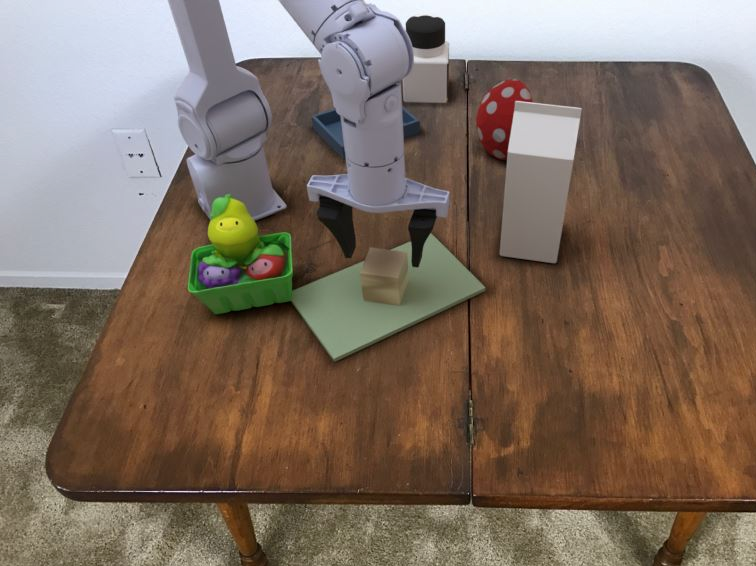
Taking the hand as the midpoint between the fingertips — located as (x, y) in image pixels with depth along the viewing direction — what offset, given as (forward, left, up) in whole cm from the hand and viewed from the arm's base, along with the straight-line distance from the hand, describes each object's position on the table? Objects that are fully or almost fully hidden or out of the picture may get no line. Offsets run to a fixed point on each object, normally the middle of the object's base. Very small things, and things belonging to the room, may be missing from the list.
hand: (383, 256), depth 76 cm
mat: (0, 0, -6) cm, 6 cm away
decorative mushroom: (+32, +15, -6) cm, 36 cm away
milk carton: (+20, -2, -6) cm, 21 cm away
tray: (+15, +32, -6) cm, 36 cm away
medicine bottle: (+29, +37, -6) cm, 47 cm away
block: (0, 0, -5) cm, 5 cm away
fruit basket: (-13, +9, -6) cm, 17 cm away
